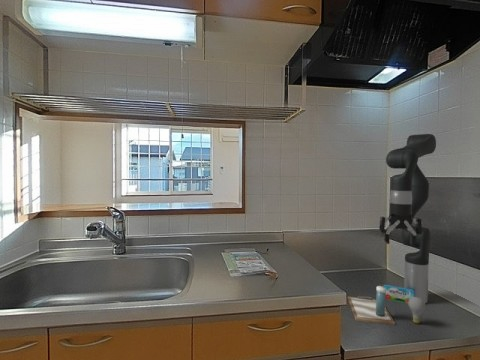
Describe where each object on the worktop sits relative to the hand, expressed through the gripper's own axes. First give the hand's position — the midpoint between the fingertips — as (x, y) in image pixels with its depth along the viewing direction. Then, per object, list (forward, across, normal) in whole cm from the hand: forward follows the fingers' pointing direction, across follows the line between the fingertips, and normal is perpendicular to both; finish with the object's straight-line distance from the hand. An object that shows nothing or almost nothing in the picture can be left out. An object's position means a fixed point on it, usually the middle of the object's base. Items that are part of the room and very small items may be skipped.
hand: (399, 244), depth 111 cm
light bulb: (+30, +6, 0) cm, 31 cm away
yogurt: (+30, +6, +19) cm, 36 cm away
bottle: (+29, -6, +2) cm, 30 cm away
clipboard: (+30, -9, +6) cm, 32 cm away
